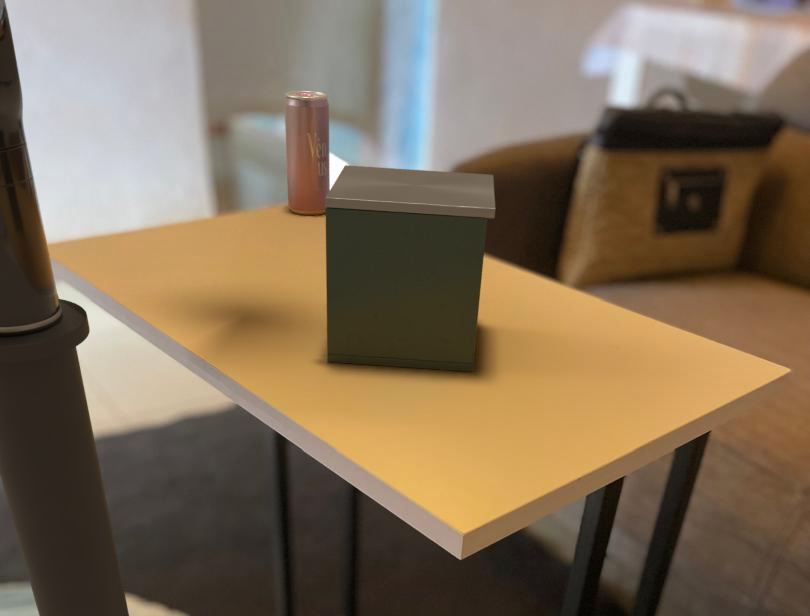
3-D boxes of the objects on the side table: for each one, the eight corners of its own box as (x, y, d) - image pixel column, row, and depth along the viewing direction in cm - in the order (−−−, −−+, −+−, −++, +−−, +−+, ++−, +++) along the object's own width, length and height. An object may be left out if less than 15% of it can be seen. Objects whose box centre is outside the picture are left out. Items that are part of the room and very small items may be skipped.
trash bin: (473, 322, 88) (486, 183, 80) (472, 372, 78) (487, 218, 70) (344, 313, 88) (344, 174, 80) (327, 362, 78) (325, 208, 70)
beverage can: (316, 203, 124) (313, 89, 116) (337, 212, 121) (337, 96, 112) (280, 207, 122) (275, 91, 113) (301, 217, 118) (298, 98, 109)
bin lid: (492, 183, 80) (493, 174, 79) (494, 218, 70) (495, 208, 69) (344, 174, 80) (344, 165, 80) (325, 207, 70) (325, 197, 70)
